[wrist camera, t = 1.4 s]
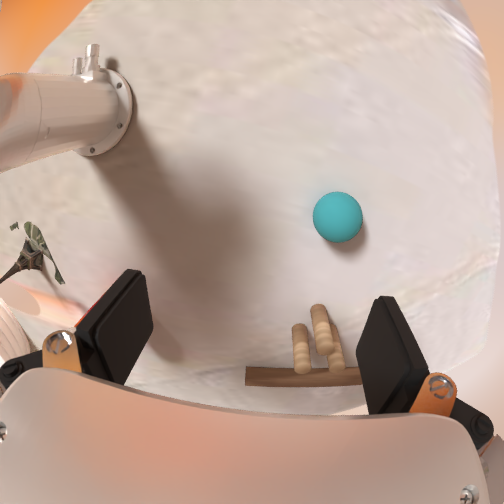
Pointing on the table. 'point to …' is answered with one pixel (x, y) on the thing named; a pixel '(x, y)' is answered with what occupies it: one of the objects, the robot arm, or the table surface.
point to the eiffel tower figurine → (31, 253)
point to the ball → (337, 217)
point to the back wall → (301, 377)
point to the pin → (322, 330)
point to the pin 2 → (336, 353)
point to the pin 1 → (301, 349)
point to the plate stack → (11, 336)
